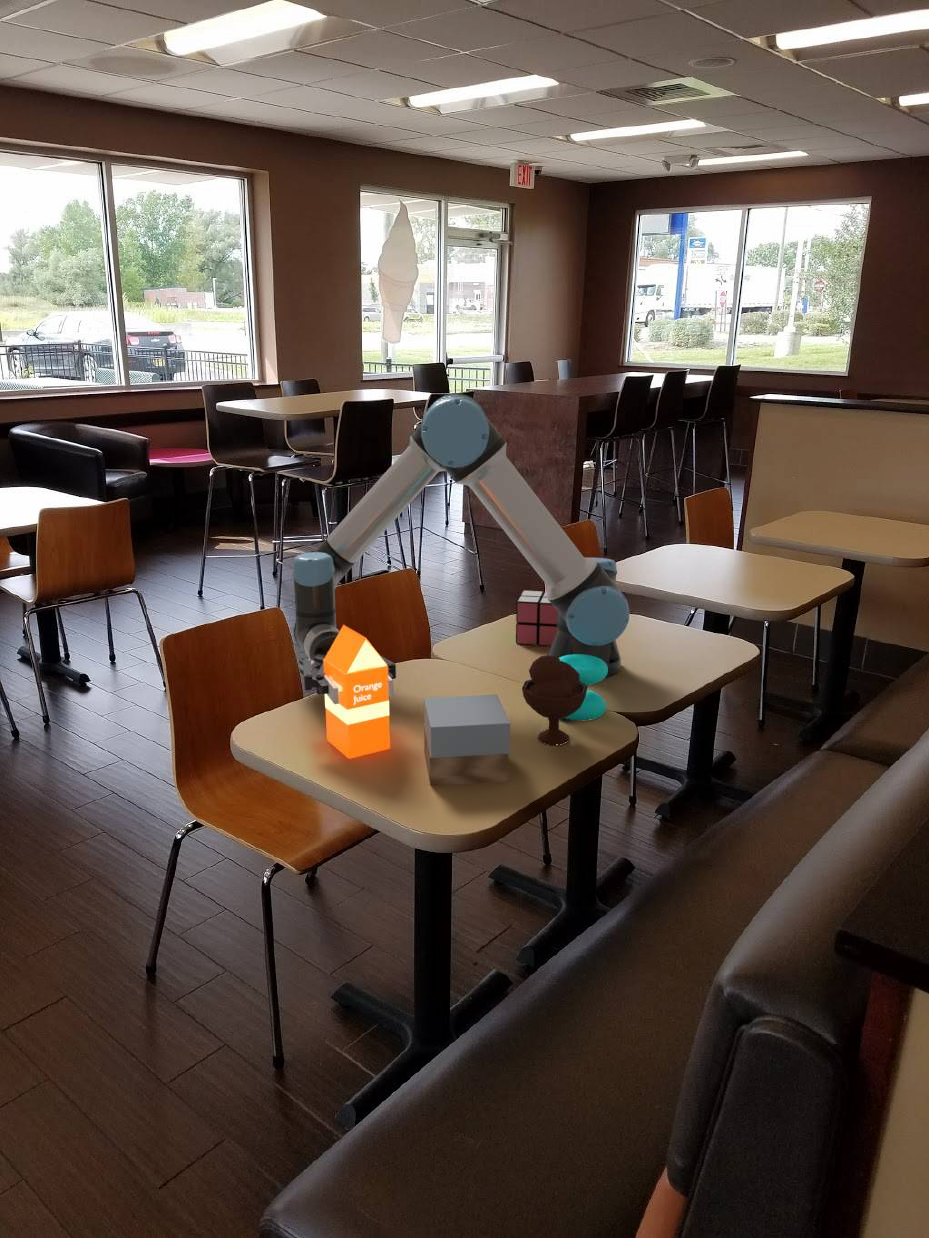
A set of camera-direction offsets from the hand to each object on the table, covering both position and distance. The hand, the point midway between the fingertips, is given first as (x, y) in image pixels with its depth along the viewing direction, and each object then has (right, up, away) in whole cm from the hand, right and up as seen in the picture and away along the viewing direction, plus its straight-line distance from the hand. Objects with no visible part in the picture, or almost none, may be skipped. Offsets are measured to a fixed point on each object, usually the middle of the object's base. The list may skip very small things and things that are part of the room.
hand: (364, 692), depth 149 cm
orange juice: (-2, -10, +7) cm, 12 cm away
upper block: (+16, -7, -2) cm, 18 cm away
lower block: (+16, -12, -1) cm, 20 cm away
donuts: (+37, -6, +21) cm, 43 cm away
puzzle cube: (+33, +7, +63) cm, 71 cm away
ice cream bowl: (+31, -9, +9) cm, 34 cm away
